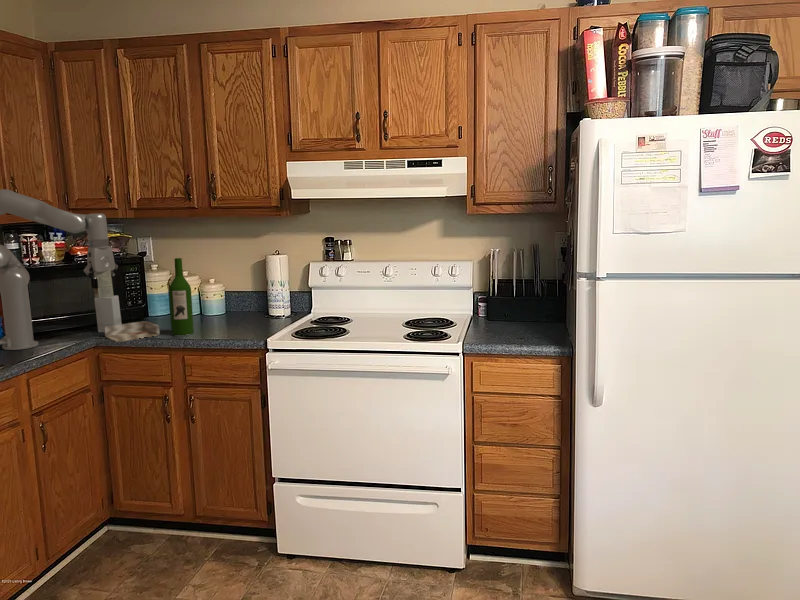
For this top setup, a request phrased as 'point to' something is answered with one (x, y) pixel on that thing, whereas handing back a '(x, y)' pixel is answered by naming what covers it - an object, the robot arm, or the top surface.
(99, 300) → the skincare box
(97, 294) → the skincare box
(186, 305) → the wine bottle
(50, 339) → the top surface
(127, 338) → the tray
